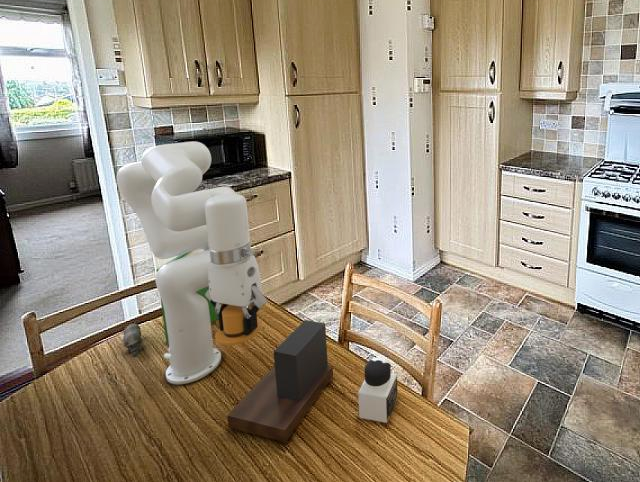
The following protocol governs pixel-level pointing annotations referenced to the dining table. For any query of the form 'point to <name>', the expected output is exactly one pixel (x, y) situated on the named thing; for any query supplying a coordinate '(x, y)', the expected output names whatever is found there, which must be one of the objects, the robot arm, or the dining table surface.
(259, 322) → the hat
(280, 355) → the dark grey block
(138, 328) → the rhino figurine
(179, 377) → the robot arm
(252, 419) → the brown flat slab
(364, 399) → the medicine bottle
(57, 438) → the dining table surface
